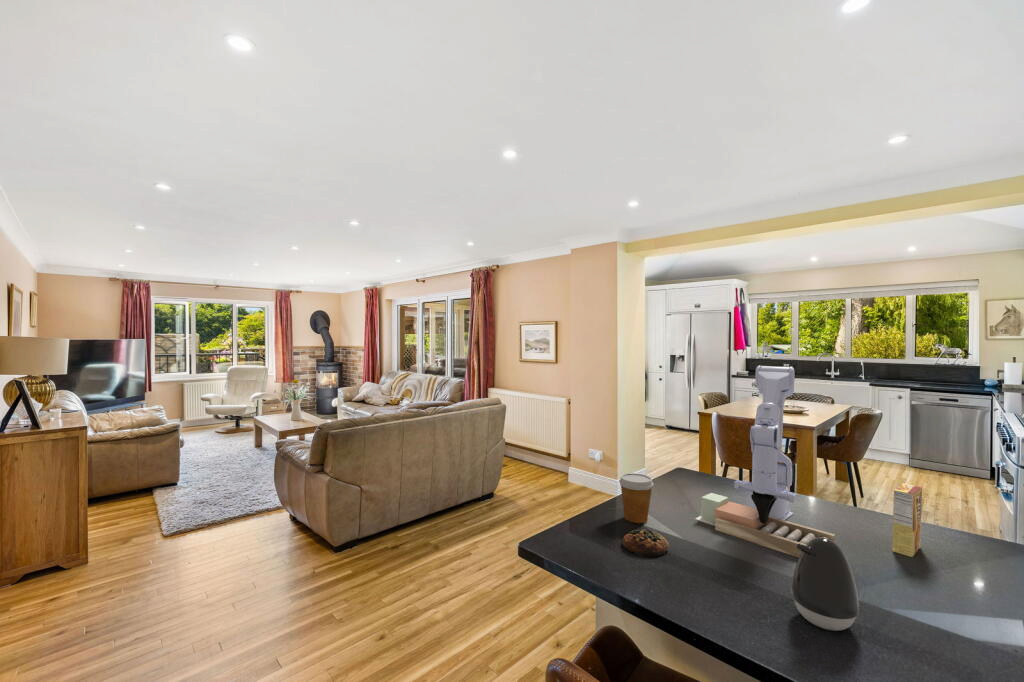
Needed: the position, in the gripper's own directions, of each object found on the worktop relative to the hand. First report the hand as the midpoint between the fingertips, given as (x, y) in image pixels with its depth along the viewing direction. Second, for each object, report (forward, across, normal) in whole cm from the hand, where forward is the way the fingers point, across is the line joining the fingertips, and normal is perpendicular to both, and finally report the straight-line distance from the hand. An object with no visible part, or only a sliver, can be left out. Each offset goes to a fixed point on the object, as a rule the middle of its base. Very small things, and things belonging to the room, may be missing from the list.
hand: (763, 522), depth 119 cm
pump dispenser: (+4, +21, -31) cm, 38 cm away
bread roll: (+4, -17, -30) cm, 34 cm away
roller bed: (+4, -1, 0) cm, 4 cm away
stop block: (+3, -13, +1) cm, 14 cm away
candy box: (+4, +26, +19) cm, 33 cm away
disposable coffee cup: (+4, -28, -17) cm, 33 cm away
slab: (+1, -6, 0) cm, 6 cm away
